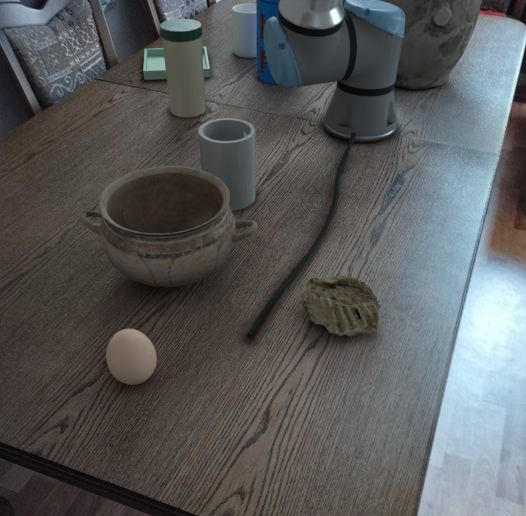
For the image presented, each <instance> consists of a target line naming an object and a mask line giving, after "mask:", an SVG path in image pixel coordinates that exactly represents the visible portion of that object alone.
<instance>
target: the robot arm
mask: <svg viewBox="0 0 526 516" xmlns="http://www.w3.org/2000/svg"><path fill="white" fill-rule="evenodd" d="M404 29H405V14H404V12H403V11H402V10H401V9H400V8H399V7H397V6H395V5H393V4H390V3H387V2H383V1H379V0H346V1H345V3H344V5H343V6H342V2H341V1H340V0H280V2H279V8H278V16H277V17H271V18H269V19H268V20H267V21H266V23H265V26H264V47H265V53H266V58H267V62H268V66H269V69H270V72H271V74H272V76H273V78H274V80H275V81H276V83H277V84H276V85H278V86H280V87H281V88H285V89H287V88H302V87H306V86H314V85H321V84H327V83H328V84H329V83H335V82H336V84H335V90H334V92H333V94H332V97H331V99H330V102H329V104H328V106H327V109H326V111H325V114H324V119H323V127H324V129H325V131H326V132H327V133H328V134H330V135H331V136H333V137H334V138H337V139H339V140H342V141H346V142H348V143H347V145H346V147H345V150H344V153H343V155H342V158H341V160H340V163H339V165H338V167H337V170H336V173H335V177H334V189H333V195H332V201H331V205H330V208H329V212H328V214H327V217H326V220H325V221H324V224H323V226H322V228H321V230H320V232H319V233H318V235H317V237H316V238H315V239H314V241H313V243H312V244H311V246H310V247H309V249H308V250H307V251H306V252H305V254H304V255H303V257H302V258H301V259H300V261H299V262H298V263H297V264H296V265H295V267H294V268H293V269H292V271H291V272H290V273H289V275H287V277H286V278H285V279H284V281H283V282H282V283H281V284H280V286H279V287H278V288H277V289H276V290H275V292H274V293H273V294H272V295H271V297H270V298H269V300H268V301H267V303H266V304H265V306H264V307H263V308H262V310H261V311H260V313H259V315H258V316H257V318H256V319H255V321H254V322H253V324H252V325H251V327H250V329H249V330H248V332H247V333H246V337H247V339H253V338H254V336H255V335H256V333H257V331H258V330H259V329H260V326H261V325H262V323H263V322H264V320H265V318H266V317H267V316H268V314H269V312H270V311H271V310H272V308H273V306H274V305H275V303H276V302H277V301H278V300H279V298H280V297H281V296H282V294H283V293H284V292H285V290H286V289H287V288H288V287H289V285H290V284H291V283H292V281H294V279H295V278H296V276H297V275H298V274H299V273H300V271H301V270H302V269H303V267H304V266H305V265H306V263H307V262H308V261H309V260H310V258H312V256H313V254H314V253H315V251H316V250H317V248H318V247H319V245H320V244H321V242H322V240H323V239H324V237H325V236H326V234H327V231H328V230H329V228H330V226H331V223H332V221H333V218H334V216H335V213H336V210H337V205H338V201H339V195H340V182H341V176H342V173H343V170H344V168H345V165H346V163H347V160H348V157H349V154H350V152H351V149H352V146H353V144H354V143H362V144H363V143H365V144H366V143H368V144H369V143H378V142H382V141H386V140H388V139H390V138H391V137H393V136H394V134H395V133H396V131H397V126H398V116H397V115H398V114H397V107H396V101H395V100H396V99H395V93H394V91H395V80H396V75H397V69H398V63H399V58H400V52H401V46H402V40H403V38H404Z"/></svg>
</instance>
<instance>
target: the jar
mask: <svg viewBox="0 0 526 516" xmlns="http://www.w3.org/2000/svg"><path fill="white" fill-rule="evenodd" d="M161 41H162V48H163V51H164V59H165V68H166V77H167V79H166V86H167V93H168V94H167V95H168V103H169V104H168V105H169V110H170V111H169V112H170V113H171V114H172V115H173V116H175V117H180V118H195V117H199V116H201V115H203V114H204V113H205V112H206V111H207V102H206V101H207V99H206V86H205V78H204V69H203V53H202V47H203V39H202V36H201V37H199V38H197V39H194V40H190V41H170V40H166V39H164V38H162V37H161Z"/></svg>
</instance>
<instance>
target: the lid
mask: <svg viewBox="0 0 526 516" xmlns="http://www.w3.org/2000/svg"><path fill="white" fill-rule="evenodd" d="M159 33H160V36H161V39H162V38H164V39H166V40H170V41H190V40H194V39H197V38H199V37H201V38H202V36H203V27H202V23H201V22H200V21H198V20H197V19H196V20H195V19H192V18H191V19H190V18H172V19H168V20H165V21H163V22H161V23H160V24H159Z"/></svg>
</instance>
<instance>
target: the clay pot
mask: <svg viewBox="0 0 526 516" xmlns="http://www.w3.org/2000/svg"><path fill="white" fill-rule="evenodd" d="M379 1H383V2H387V3H390V4H393V5H395V6H397V7H399V8H400V9H401V10H402V11H403V12H404V14H405V29H404V38H403V40H402V46H401V52H400V58H399V63H398V69H397V75H396V80H395V86H396V87H398V88H402V89H405V90H406V89H407V90H424V89H425V90H426V89H431V88H437V87H439V86H442V85H444V84H445V83H446V82H447V80H448V78H449V76H450V74H451V73H452V71H453V70H454V68H455V67H456V66H457V64H458V63H459V61H460V60H461V58H462V57H463V55H464V54H465V51H466V49H467V47H468V45H469V43H470V40H471V38H472V35H473V33H474V31H475V28H476V26H477V22H478V19H479V15H480V11H481V5H482V3H483V0H379ZM395 86H394V87H395Z"/></svg>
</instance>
